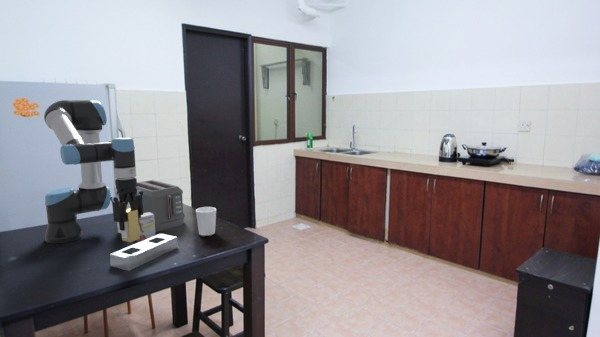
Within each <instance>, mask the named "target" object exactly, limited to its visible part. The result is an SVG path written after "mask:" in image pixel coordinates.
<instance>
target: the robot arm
mask: <svg viewBox="0 0 600 337" xmlns="http://www.w3.org/2000/svg"><path fill="white" fill-rule="evenodd" d="M43 118H44V123H45V124H46V126H47V127H48V129H51V130H52V131H53V132H54V134H55V135H56V138H57V139H58V141H59V144H60V145H61V146H60V148H59V150H60V152H59V153H60V158H61V161H62V164H64V165H66V166H67V165H69V166H70V165H75V166H76V165H80V174H81V181H80V183H79V184H78V189H74V188H73V187H71V186H70V187H63V188H62V187H61V188H57V189H54V190H51V191H49V192H47V193H46V195H45V196H44V199H45V201H44V205H45V209H46V211H45V212H46V219H47V220H46V221H47V227H46V231H45V234H44V240H45V243H47V244H63V243H68V242H73V241H77V240H79V239H81V238H82V237H83V234H84V233H83V229H82V227H81V225H80V223H79V221H78V217H77V215H82V214H86V213H92V212H99V211H103V210H106V209H108V207H109V206H110V204H111V206H112V215H113V221H114V222H116V223H117V222H119V227H120V230H121V233H120V234H121V239H122V238H128V228H127V222H125V218H126V209H127V205H128V202H129V204H130V207H131V209H137V210H138V223H139V224H140V222H139V218H141V215H143V200H142V196H143V191H139V190H137V189H136V187H137V182H138V180H137V168H136V167H137V166H136V154H135V143H134V139H133V138H132V137H115V138H113V139H112V140H110V141H109V140H108V141H106V142H101V141H100V139H101V138H100V133H101V132H102V131H103V126H105V125H107V120H108V119H107V113H106V110H105V108H104V106H103V104H102V103H101V102H100V101H99V100H92V99H87V100H84V99H82V100H81V99H79V100H78V99H77V100H74V99H72V100H70V99H69V100H68V99H67V100H66V99H65V100H63V99H62V100H57V101H55V102H53V103H52V104H50V105H49V106H48V107H47V108H46V110H45V111H44V115H43ZM112 161H113V169H114V178H115V180H114V181H115V185H116V189H117V194H116V196H115V195H114V196H112V193H111V189H110V187H109V186H108V185H106V182H104V181H103V179H102V178H103V177H102V174H103V173H102V162H103V163H104V162H112ZM135 196H136V197H135ZM119 199H120V200H119Z"/></svg>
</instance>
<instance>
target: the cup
mask: <svg viewBox="0 0 600 337" xmlns="http://www.w3.org/2000/svg"><path fill="white" fill-rule="evenodd" d="M195 216H196V223H197V229H198V235H199V236H201V237H202V238H205V237H206V236H207V237H212V235H215V233H216V221H217V208H216V207H213V206H203V207H198V208H196V209H195Z"/></svg>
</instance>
